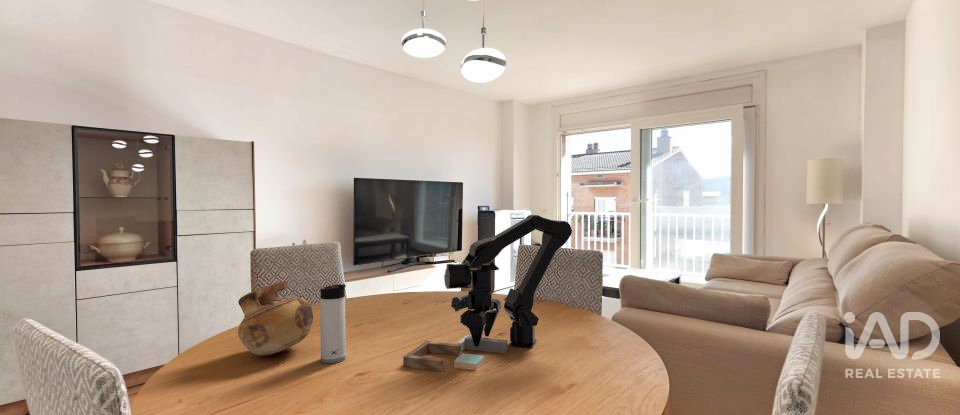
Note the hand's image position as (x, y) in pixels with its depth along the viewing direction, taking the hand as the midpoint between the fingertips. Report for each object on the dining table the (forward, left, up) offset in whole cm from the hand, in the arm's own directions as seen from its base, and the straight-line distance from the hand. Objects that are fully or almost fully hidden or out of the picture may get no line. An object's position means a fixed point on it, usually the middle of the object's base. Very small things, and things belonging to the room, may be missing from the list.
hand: (481, 341), depth 121 cm
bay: (+10, +12, -2) cm, 16 cm away
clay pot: (+53, +21, -2) cm, 57 cm away
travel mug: (+35, +20, -2) cm, 40 cm away
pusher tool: (-1, 0, -2) cm, 3 cm away
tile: (-1, +12, -3) cm, 12 cm away
